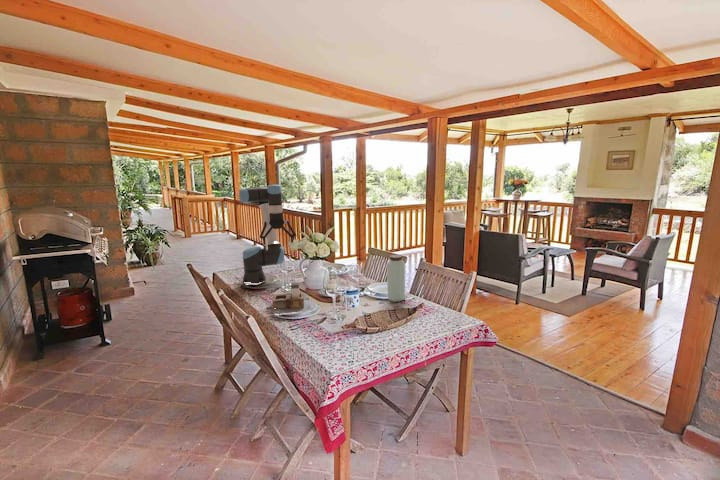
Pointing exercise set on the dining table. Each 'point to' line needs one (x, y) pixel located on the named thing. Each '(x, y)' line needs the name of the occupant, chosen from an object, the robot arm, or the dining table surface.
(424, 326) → the dining table surface
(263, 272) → the robot arm
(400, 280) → the water bottle
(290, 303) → the socket block
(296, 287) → the plug
